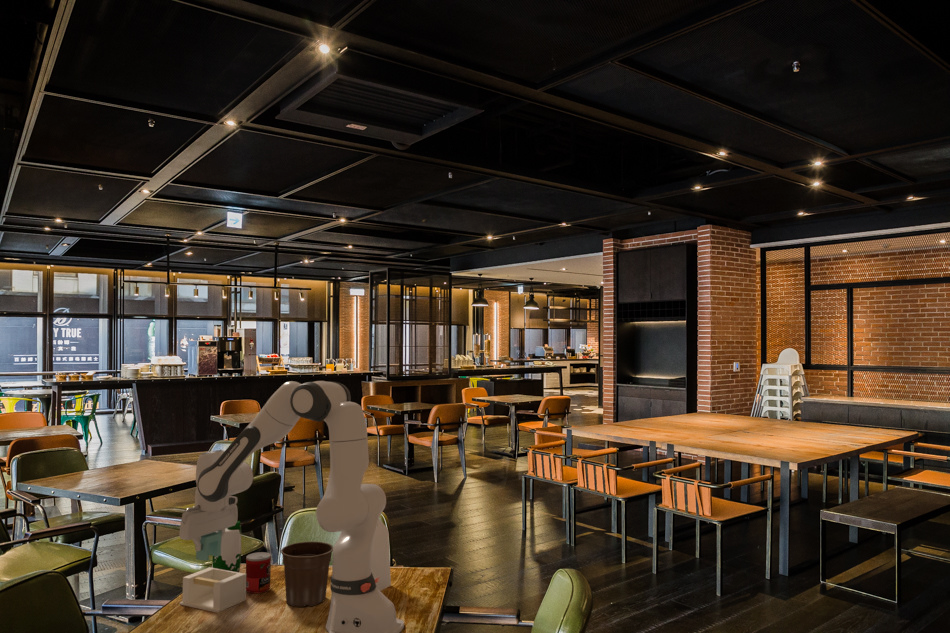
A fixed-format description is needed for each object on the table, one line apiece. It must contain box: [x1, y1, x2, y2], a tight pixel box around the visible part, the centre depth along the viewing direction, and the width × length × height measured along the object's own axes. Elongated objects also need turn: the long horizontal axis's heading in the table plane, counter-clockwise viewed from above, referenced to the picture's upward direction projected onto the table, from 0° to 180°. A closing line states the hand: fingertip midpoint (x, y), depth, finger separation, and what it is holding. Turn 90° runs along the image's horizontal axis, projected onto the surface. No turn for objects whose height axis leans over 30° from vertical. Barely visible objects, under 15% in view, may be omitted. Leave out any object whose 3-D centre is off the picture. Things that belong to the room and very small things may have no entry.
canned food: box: [245, 551, 272, 594], centre depth 212 cm, size 8×8×11 cm
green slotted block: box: [195, 532, 221, 562], centre depth 199 cm, size 4×6×7 cm, turn 156°
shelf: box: [179, 566, 247, 614], centre depth 201 cm, size 16×11×8 cm
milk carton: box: [211, 520, 242, 573], centre depth 219 cm, size 9×9×20 cm
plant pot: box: [280, 541, 334, 608], centre depth 202 cm, size 16×16×16 cm
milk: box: [371, 519, 392, 592], centre depth 214 cm, size 12×12×26 cm
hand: (208, 547), depth 199 cm, fingers closed on green slotted block, 6 cm apart
